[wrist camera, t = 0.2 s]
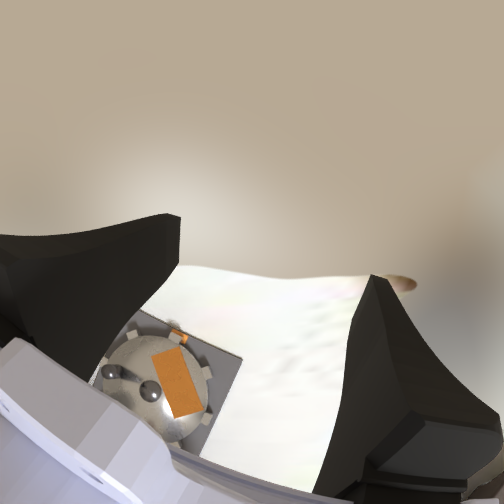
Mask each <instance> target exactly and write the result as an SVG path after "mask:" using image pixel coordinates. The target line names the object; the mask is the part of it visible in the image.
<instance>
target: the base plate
mask: <svg viewBox="0 0 504 504" xmlns="http://www.w3.org/2000/svg"><path fill="white" fill-rule="evenodd" d="M136 329H137V330H140V333H141V336H160V337H164V338H168V337H169V335H170V333H171V332H174V333H176V334H178V335H180V336H182V337H184V339H183V341H182V343H181V345H182V346H184V347H185V348H186V349H188V350H189V351H190V352H191V353H192V354H193V355H194V356H195V358H196V359H197V360H198V362H199V363H200V365H201V367H202V368H203V367H206V366H210V367H211V370H212V372H213V375H214V377H213V378H210V379H207V382H208V388H209V401H208V407H207V410H206V411H209V412H211V413H213V414H214V415H213V417H212V419H211V421H210V423H209V425H208V426H206V425H204V424H202V423H200V424H199V425H198V427H197V428H196V429H195V430H194V431H193V432H191V433H190V434H189V435H188V436H186V437H185V438H183V439H181V442H182V445H183V446H182V447H181V448H180V449H182V450H184V451H187V452H189V453H191V454H194V455H196V456H198V457H199V454H200V452H201V450H202V448H203V446H204V444H205V442H206V440H207V438H208V435H209V433H210V431H211V429H212V427H213V425H214V423H215V420H216V418H217V416H218V414H219V412H220V410H221V407H222V405H223V403H224V401H225V399H226V397H227V394H228V392H229V390H230V388H231V386H232V383H233V381H234V379H235V377H236V374H237V372H238V370H239V368H240V365H241V363H242V361H243V360H242V359H240V358H237V357H235V356H233V355H230V354H228V353H226V352H224V351H221V350H219V349H217V348H215V347H213V346H210V345H208V344H206V343H204V342H202V341H200V340H197V339H195V338H193V337H191V336H189V335H187V334H185V333H183V332H181V331H179V330H177V329H175V328H173V327H171V326H169V325H167V324H165V323H163V322H161V321H159V320H157V319H155V318H153V317H151V316H149V315H147V314H145V313H143V312H141V311H139V310H138V311H137V312H136V313H135V314H134V315H133V316H132V317H131V318H130V320H129V321H128V322H127V323H126V324H125V326H124V327H123V328H122V330H121V331H120V333H119V334H118V335H117V337H116V338H115V340H114V341H113V342H112V344H111V345H110V347H109V348H108V350H107V352H106V355H105V356H108V357H109V358H110V357H111V355H112V354H113V353H114V351H115V350H116V349H117V348H118V347H119V346H121V345H122V344H123V343H125V342H126V341H128V337H127V334H126V333H128V332H131V331H133V330H136ZM101 368H102V367H100V369H99V372H98V375H97V377H96V380H95V382H94V385H93V387H95V388H96V389H98V390H99V391H101V392H103V376H102V374H101Z"/></svg>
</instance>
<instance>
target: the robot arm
mask: <svg viewBox="0 0 504 504" xmlns="http://www.w3.org/2000/svg"><path fill="white" fill-rule="evenodd" d="M180 222H181V217H178V216H175V215H171V214H168V213H166V214H158V215H153V216H149V217H145V218H141V219H137V220H133V221H129V222H125V223H121V224H117V225H113V226H108V227H104V228H100V229H95V230H90V231H84V232H78V233H70V234H60V235H48V236H15V235H2V234H0V504H499V499H497V498H491V499H472V500H466V501H463V502H461V493H463V492H465V491H466V489H467V478H469V477H470V476H472V475H473V474H474V473H476V472H477V471H479V470H480V469H481V468H483V467H484V466H486V465H487V464H488V463H489V462H490V461H492V460H493V459H494V458H495V457H496V456H497V454H498V453H499V451H500V450H501V449H502V446H503V435H502V428H501V423H500V416H499V414H498V413H496V412H495V411H494V410H493V409H491V408H490V407H489V406H487V405H486V404H485V403H484V402H482V401H481V400H480V399H478V398H477V397H476V396H475V395H473V393H471V392H470V391H469V390H468V389H467V388H466V387H465V386H464V385H463V384H462V383H461V382H460V381H459V380H457V378H456V377H455V376H454V375H453V374H452V373H451V372H450V371H449V370H448V369H447V368H446V367H445V366H444V365H443V363H442V362H441V361H440V360H439V359H438V358H437V356H436V355H435V354H434V352H433V351H432V350H431V349H430V347H429V346H428V345H427V343H426V342H425V341H424V339H423V338H422V336H421V335H420V333H419V332H418V330H417V329H416V328H415V326H414V324H413V323H412V321H411V320H410V318H409V316H408V315H407V313H406V311H405V309H404V308H403V306H402V304H401V302H400V301H399V299H398V297H397V295H396V293H395V292H394V290H393V288H392V286H391V285H390V283H389V281H388V280H387V279H385V278H382V277H378V276H375V275H372V274H371V275H370V278H369V280H368V283H367V285H366V288H365V290H364V293H363V295H362V297H361V300H360V302H359V304H358V307H357V309H356V311H355V313H354V316H353V318H352V322H351V326H350V331H349V336H348V341H347V350H346V360H345V371H344V380H343V389H342V396H341V402H340V407H339V411H338V415H337V419H336V422H335V426H334V430H333V433H332V437H331V440H330V443H329V447H328V450H327V453H326V456H325V459H324V462H323V465H322V467H321V470H320V473H319V476H318V478H317V481H316V484H315V486H314V489H313V491H312V493H308V492H304V491H300V490H296V489H292V488H288V487H285V486H281V485H277V484H274V483H271V482H267V481H264V480H261V479H258V478H255V477H252V476H249V475H246V474H243V473H240V472H237V471H234V470H231V469H229V468H226V467H223V466H221V465H218V464H216V463H213V462H211V461H208V460H206V459H203V458H201V457H198V456H196V455H194V454H191V453H189V452H187V451H184V450H182V449H180V448H178V447H176V446H173V445H171V444H169V443H167V442H165V441H164V440H163V438H162V437H161V435H160V434H159V433H158V432H157V431H156V430H155V429H154V428H152V427H151V426H150V425H149V424H148V423H147V422H146V421H145V420H144V419H143V418H142V417H140V416H139V415H137V414H136V413H134V412H133V411H131V410H130V409H128V408H127V407H125V406H124V405H122V404H121V403H120V402H118V401H117V400H115V399H113V398H111V397H110V396H108V395H106V394H105V393H103V392H101V391H99V390H98V389H96V388H95V387H93V386H91V385H90V384H88V382H89V380H90V378H91V377H92V375H93V373H94V371H95V370H96V368H97V366H98V364H99V363H100V361H101V359H102V358H103V356H104V355H105V353H106V352H107V350H108V348H109V347H110V345H111V344H112V342H113V341H114V340H115V338H116V337H117V335H118V334H119V333H120V331H121V330H122V328H123V327H124V326H125V324H126V323H127V322H128V321H129V320H130V318H131V317H132V316H133V315H134V314H135V313H136V312H137V311H138V310H139V309H140V308H141V307H142V306H143V305H144V304H145V303H146V301H147V300H148V299H149V298H150V297H151V296H152V295H153V294H154V293H155V292H156V291H157V290H158V289H159V288H160V287H161V286H162V285H163V284H164V282H165V281H166V280H167V279H168V277H169V276H170V275H171V273H172V272H173V270H174V269H175V267H176V266H177V265H178V263H179V242H180Z"/></svg>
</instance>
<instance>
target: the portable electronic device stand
mask: <svg viewBox="0 0 504 504" xmlns="http://www.w3.org/2000/svg"><path fill="white" fill-rule="evenodd" d="M491 498H497V499H499V504H504V472H503V473H501V474H500V475H499V476H498V477H496V478H495V479H493V480H492V481H490V482H489V483H487V484H485V485H481V486H479V487H477V488H476V489H475V491H474V492H473V493H472V494H471V495H470V496H469V498H468V499H467V500H472V499H491Z"/></svg>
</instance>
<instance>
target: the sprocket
mask: <svg viewBox="0 0 504 504" xmlns="http://www.w3.org/2000/svg"><path fill="white" fill-rule="evenodd" d="M126 334H127V337H128V341H126V342H125V343H123V344H122V345H121V346H119V347H118V348H117V349H116V350H115V351H114V353H113V354H112V355H111V357H110V358H109V357H108V356H103V358H102V360H101V362H100V365H99V366H100V367H102V368H101V374H102V376H103V393H105V394H106V395H108V396H110V397H111V398H113V399H115V400H117V401H118V402H120V403H121V404H122V405H124V406H125V407H127V408H128V409H130V410H131V411H133V412H134V413H136V414H137V415H139V416H140V417H142V418H143V419H144V420H145V421H146V422H147V423H148V424H149V425H150V426H151V427H152V428H154V429H155V430H156V431H157V432H158V433H159V434H160V435H161V437H162V438H163V440H164V441H165V442H167V443H169V444H171V445H173V446H176V447H178V448H181V447H182V446H183V445H182V442H181V439H183V438H185V437H186V436H188V435H189V434H190V433H191V432H193V431H194V430H195V429H196V428H197V427H198V425H199V424H200V423H202V424H204V425H206V426H208V425H209V423H210V421H211V419H212V417H213V415H214V414H213V413H211V412H209V411H206V410H207V407H208V401H209V388H208V382H207V379H210V378H213V377H214V375H213V372H212V370H211V367H210V366H206V367H203V368H202V367H201V365H200V363H199V362H198V360H197V359H196V358H195V356H194V355H193V354H192V353H191V352H190V351H189V350H188V349H186V348H185V347H184V346H182V345H181V343H182V341H183V339H184V337H182V336H180V335H178V334H176V333H174V332H171V333H170V335H169V337H168V338H164V337H160V336H141V333H140V330H137V329H136V330H133V331H131V332H128V333H126Z"/></svg>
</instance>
